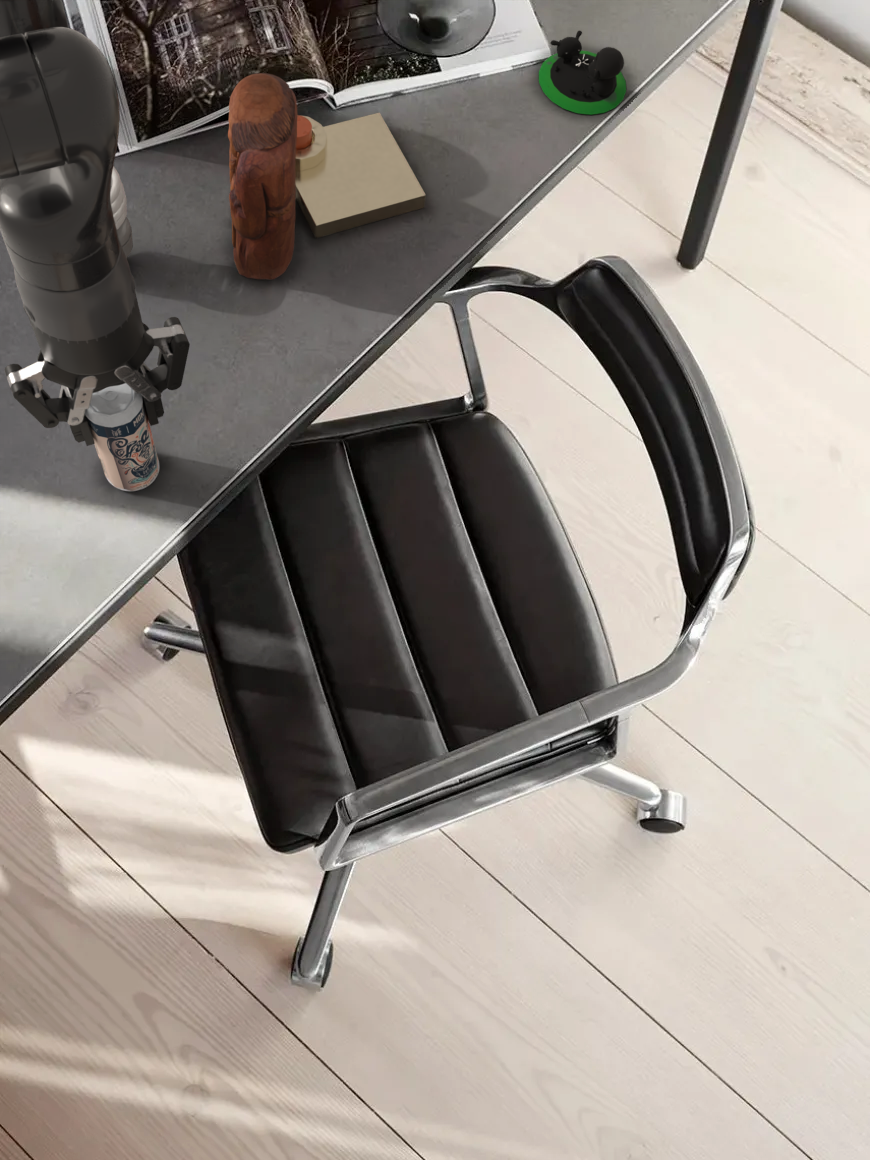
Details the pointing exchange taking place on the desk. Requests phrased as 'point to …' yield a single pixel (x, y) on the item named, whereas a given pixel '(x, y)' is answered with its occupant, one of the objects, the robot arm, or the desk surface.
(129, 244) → the light bulb
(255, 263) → the wooden figurine
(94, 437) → the beer can
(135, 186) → the desk surface
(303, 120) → the button
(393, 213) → the scale
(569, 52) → the toy figurine
